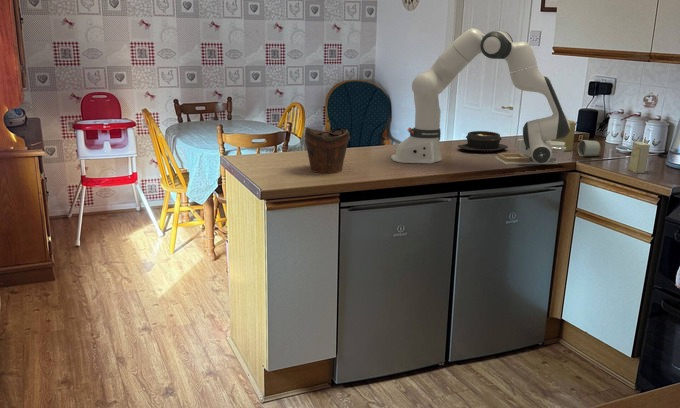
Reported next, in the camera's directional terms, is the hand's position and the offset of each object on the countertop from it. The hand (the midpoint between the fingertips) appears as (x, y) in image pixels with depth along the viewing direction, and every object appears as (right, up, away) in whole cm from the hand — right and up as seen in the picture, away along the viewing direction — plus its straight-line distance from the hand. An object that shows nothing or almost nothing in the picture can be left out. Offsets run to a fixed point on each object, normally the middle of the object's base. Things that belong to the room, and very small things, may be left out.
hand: (540, 142), depth 276 cm
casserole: (-21, -2, +24) cm, 31 cm away
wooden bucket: (-96, -14, -21) cm, 99 cm away
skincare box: (+36, -14, -16) cm, 42 cm away
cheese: (+12, -2, +25) cm, 28 cm away
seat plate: (-6, -8, +1) cm, 10 cm away
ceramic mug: (+27, -5, +15) cm, 31 cm away
